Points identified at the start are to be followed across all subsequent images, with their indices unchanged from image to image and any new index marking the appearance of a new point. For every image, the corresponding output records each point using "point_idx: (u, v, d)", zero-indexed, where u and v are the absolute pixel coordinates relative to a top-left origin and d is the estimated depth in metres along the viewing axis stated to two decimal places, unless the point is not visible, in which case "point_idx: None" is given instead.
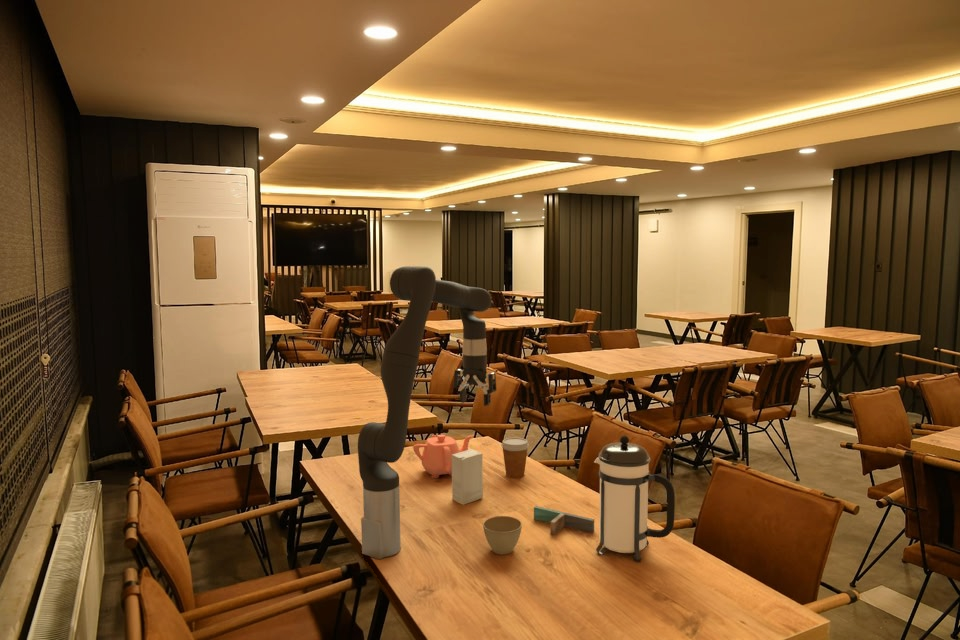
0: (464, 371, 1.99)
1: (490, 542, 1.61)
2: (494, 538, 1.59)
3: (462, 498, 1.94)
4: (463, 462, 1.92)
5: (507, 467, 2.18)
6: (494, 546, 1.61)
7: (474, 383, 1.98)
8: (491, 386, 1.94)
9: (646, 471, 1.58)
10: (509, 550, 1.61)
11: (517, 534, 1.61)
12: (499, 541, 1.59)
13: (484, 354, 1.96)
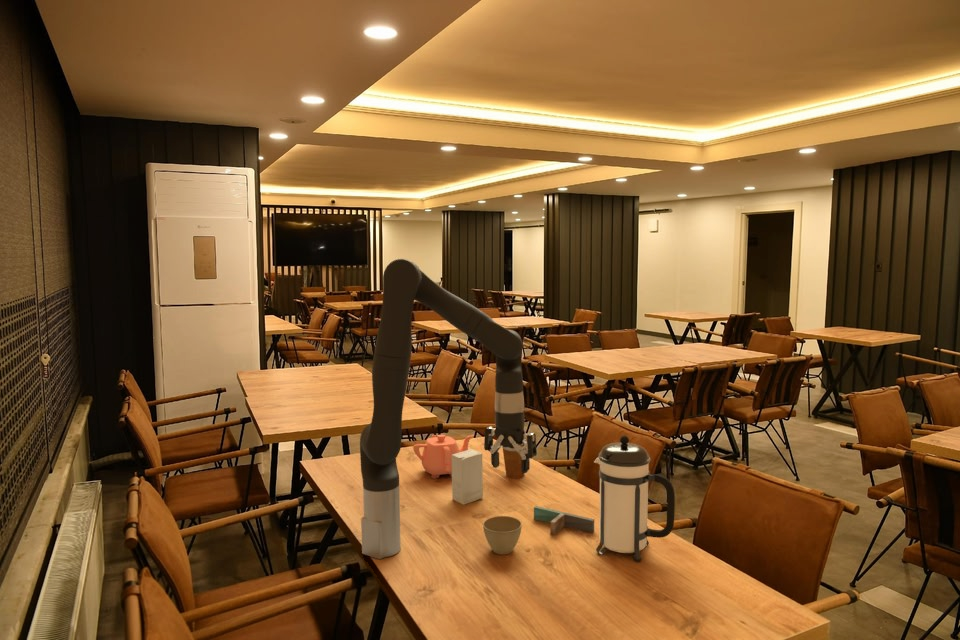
0: (497, 430, 1.64)
1: (490, 542, 1.61)
2: (494, 538, 1.60)
3: (462, 498, 1.94)
4: (463, 462, 1.92)
5: (507, 467, 2.18)
6: (494, 546, 1.61)
7: (509, 445, 1.63)
8: (531, 450, 1.59)
9: (646, 471, 1.58)
10: (509, 550, 1.61)
11: (517, 534, 1.61)
12: (499, 541, 1.59)
13: (521, 411, 1.61)
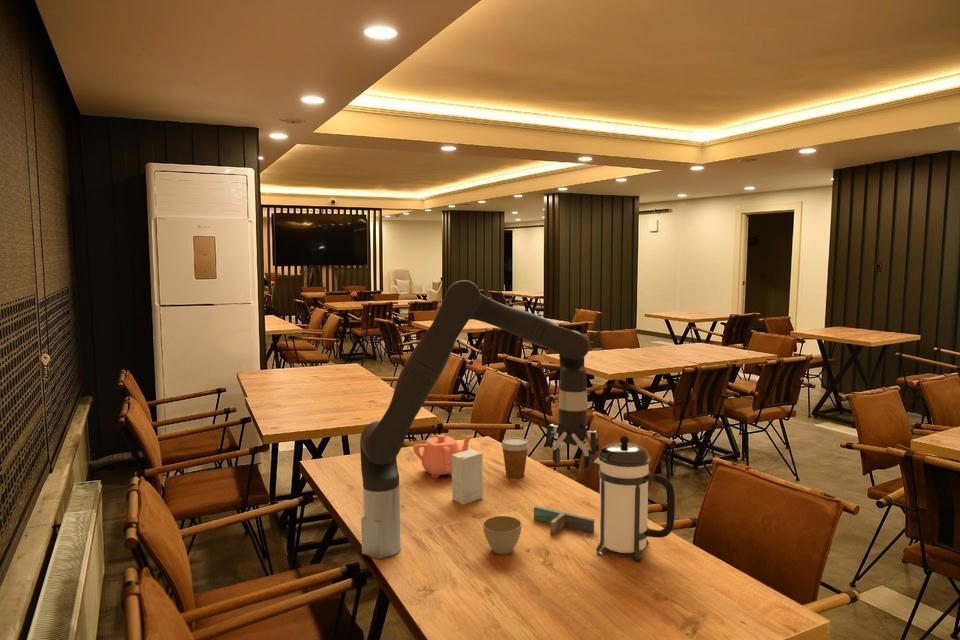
0: (559, 427, 1.70)
1: (490, 542, 1.61)
2: (494, 538, 1.59)
3: (462, 498, 1.94)
4: (463, 462, 1.92)
5: (507, 467, 2.18)
6: (494, 546, 1.61)
7: (572, 442, 1.68)
8: (594, 447, 1.65)
9: (646, 471, 1.58)
10: (509, 550, 1.61)
11: (517, 534, 1.61)
12: (499, 541, 1.59)
13: (585, 409, 1.66)
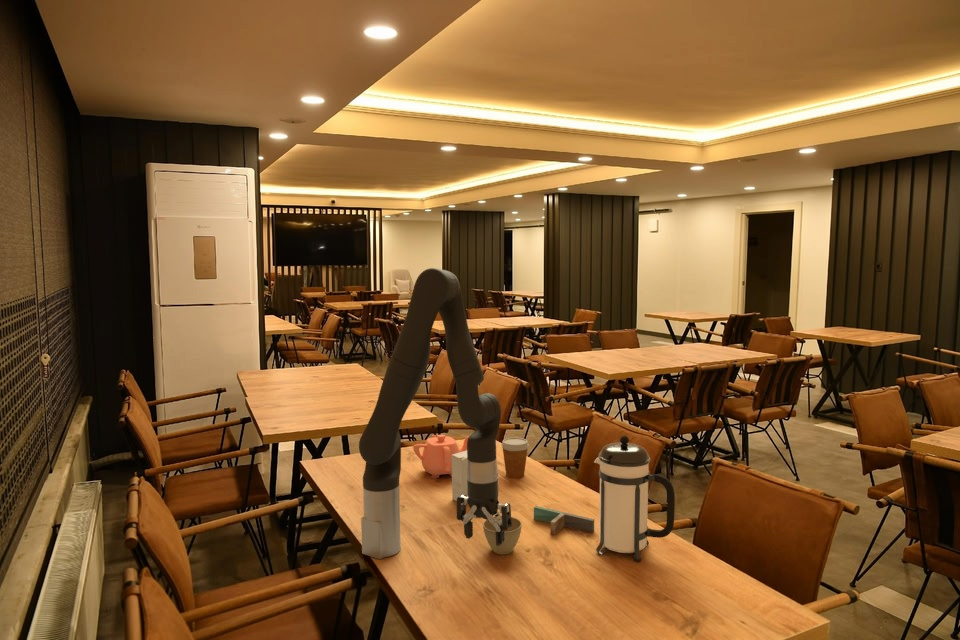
0: (469, 500, 1.55)
1: (490, 542, 1.61)
2: (494, 538, 1.59)
3: None
4: (463, 462, 1.92)
5: (507, 467, 2.18)
6: (494, 546, 1.61)
7: (483, 516, 1.54)
8: (505, 522, 1.50)
9: (646, 471, 1.58)
10: (509, 550, 1.61)
11: (517, 534, 1.61)
12: None
13: (495, 480, 1.52)
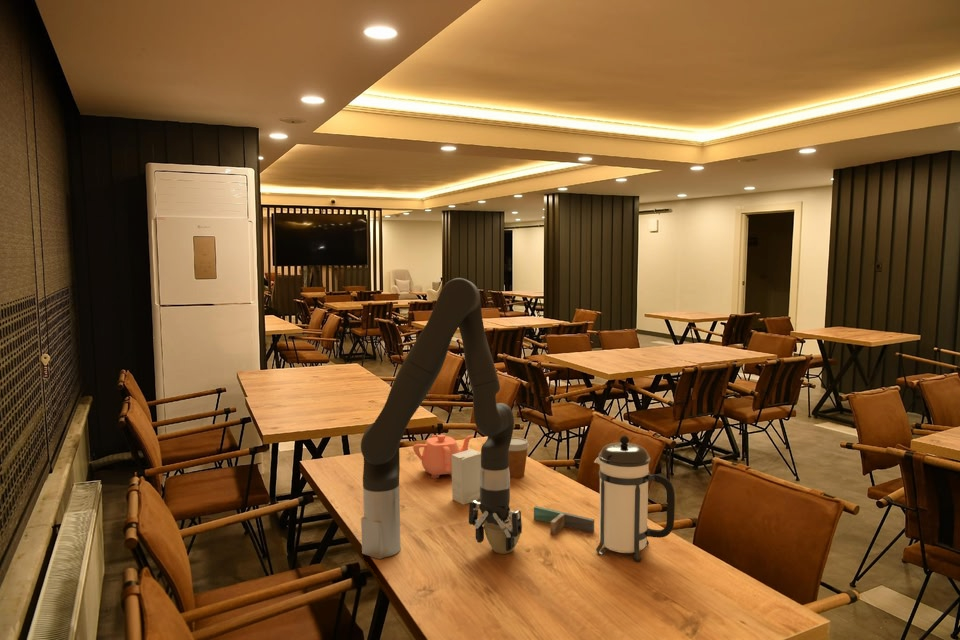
0: (481, 505, 1.61)
1: (490, 541, 1.61)
2: (494, 537, 1.60)
3: (462, 498, 1.94)
4: (463, 462, 1.92)
5: None
6: (494, 545, 1.61)
7: (494, 522, 1.59)
8: (515, 529, 1.56)
9: (646, 471, 1.58)
10: None
11: None
12: (499, 540, 1.60)
13: (507, 487, 1.57)
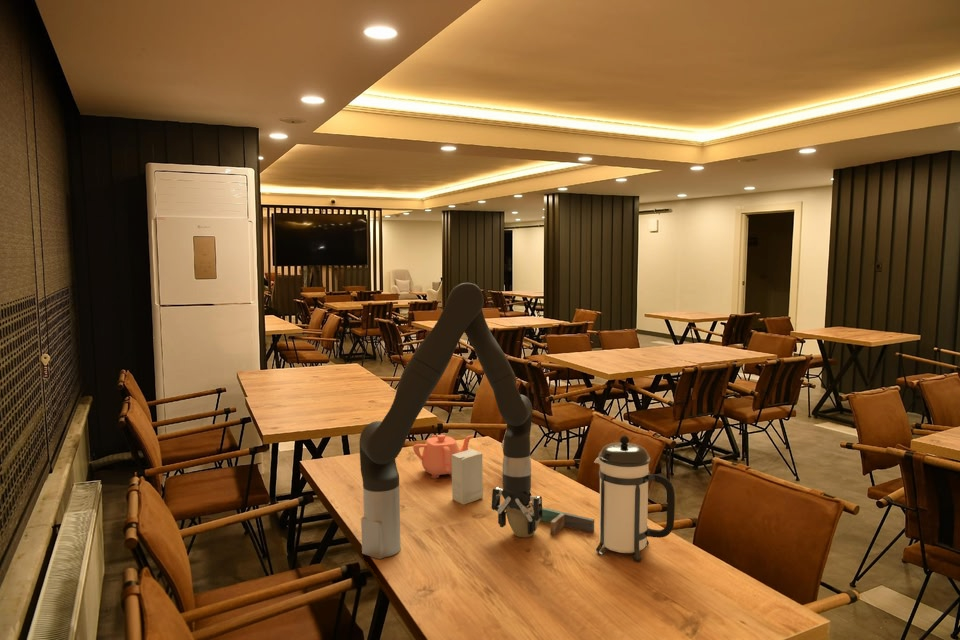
0: (504, 491, 1.70)
1: (512, 525, 1.71)
2: (516, 521, 1.69)
3: (462, 498, 1.94)
4: (463, 462, 1.92)
5: None
6: (516, 529, 1.70)
7: (516, 507, 1.68)
8: (537, 513, 1.65)
9: (646, 471, 1.58)
10: None
11: None
12: (520, 524, 1.69)
13: (528, 474, 1.66)
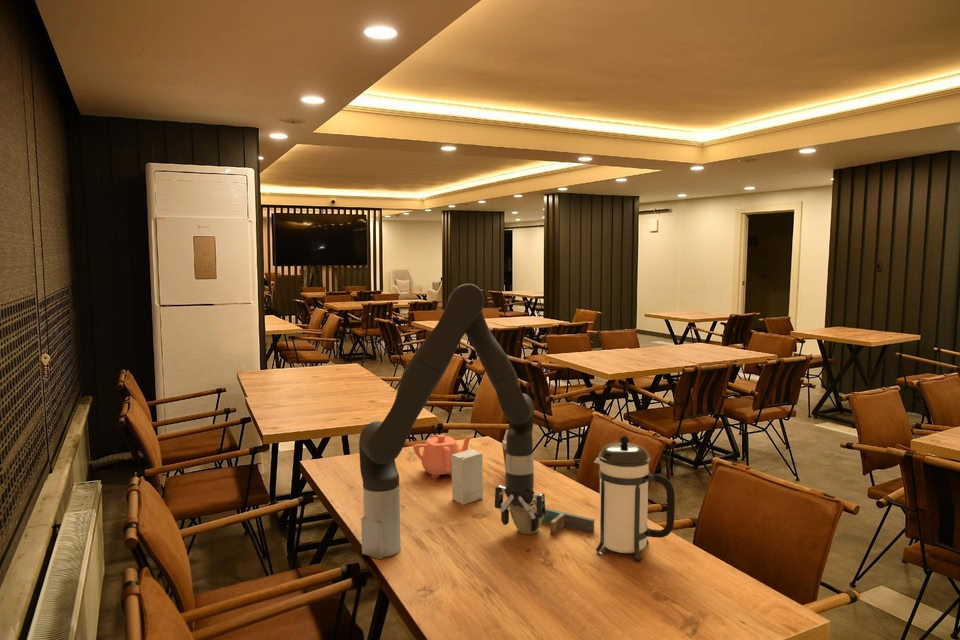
0: (507, 489, 1.71)
1: (516, 522, 1.73)
2: (520, 519, 1.71)
3: (462, 498, 1.94)
4: (463, 462, 1.92)
5: None
6: (520, 526, 1.72)
7: (519, 505, 1.70)
8: (540, 510, 1.67)
9: (646, 471, 1.58)
10: None
11: None
12: (524, 522, 1.71)
13: (531, 472, 1.68)
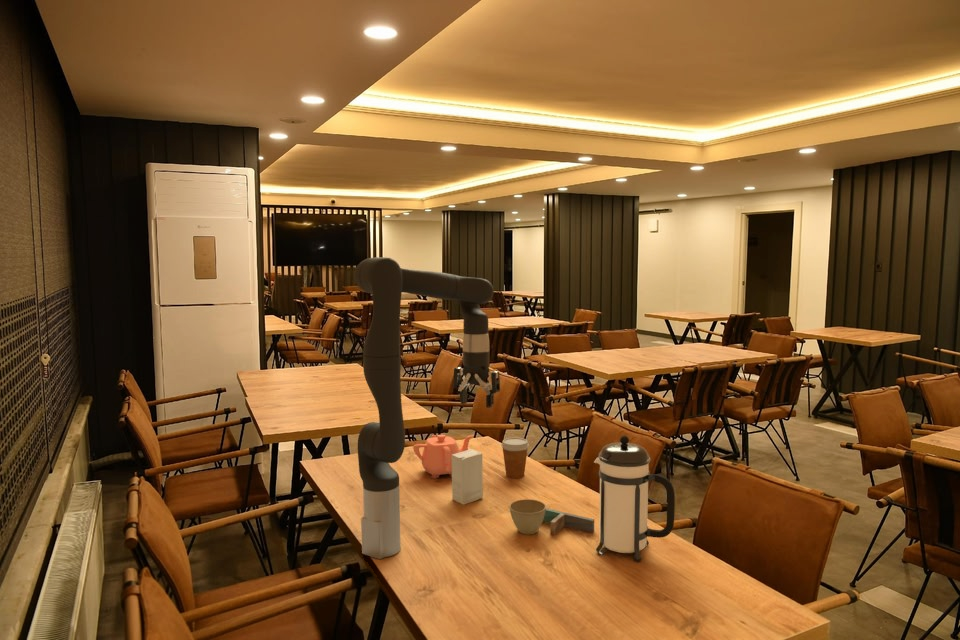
0: (464, 369, 1.81)
1: (516, 523, 1.73)
2: (520, 519, 1.71)
3: (462, 498, 1.94)
4: (463, 462, 1.92)
5: (507, 467, 2.18)
6: (520, 526, 1.72)
7: (475, 383, 1.79)
8: (494, 386, 1.76)
9: (646, 471, 1.58)
10: (534, 530, 1.73)
11: (541, 516, 1.72)
12: (524, 522, 1.71)
13: (486, 351, 1.78)
